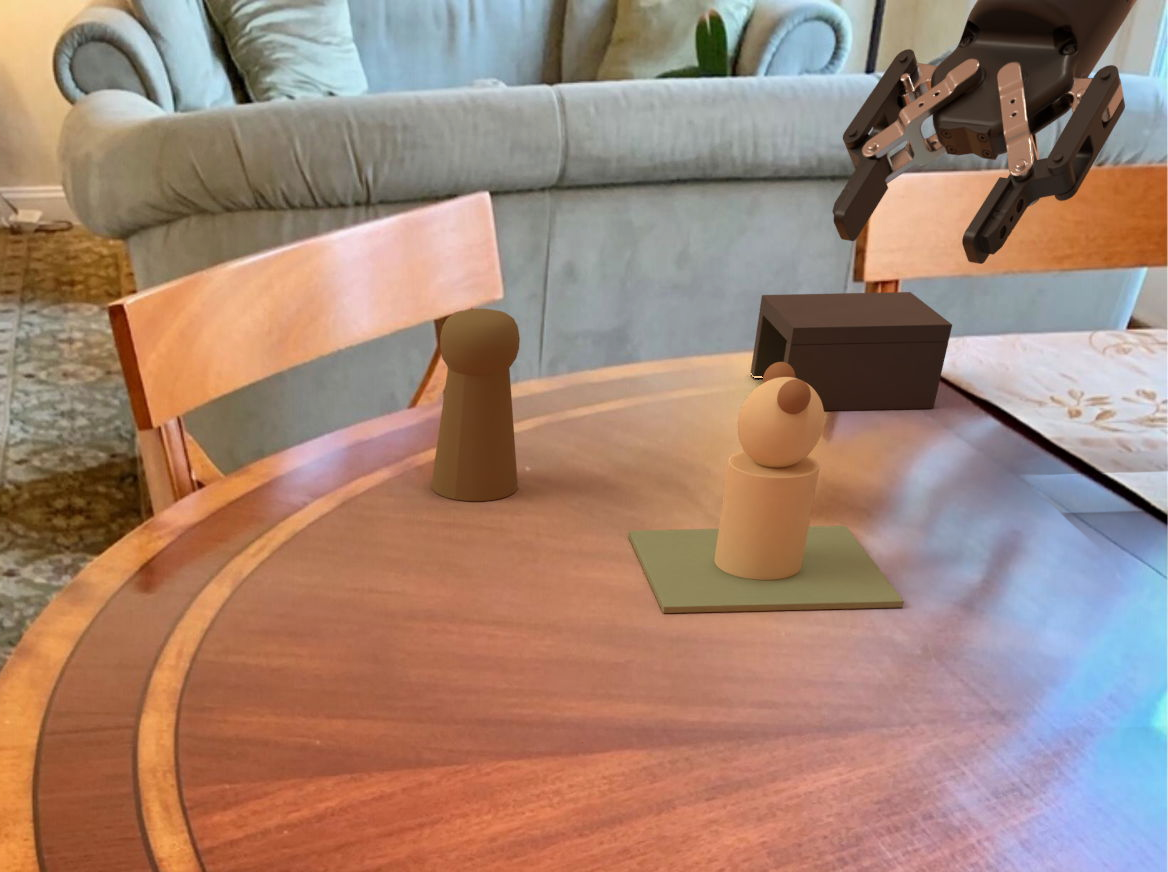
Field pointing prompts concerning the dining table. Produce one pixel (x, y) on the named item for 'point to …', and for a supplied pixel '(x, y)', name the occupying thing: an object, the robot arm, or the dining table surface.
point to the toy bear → (771, 479)
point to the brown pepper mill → (477, 407)
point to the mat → (824, 581)
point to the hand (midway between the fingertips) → (904, 242)
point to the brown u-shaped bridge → (856, 347)
